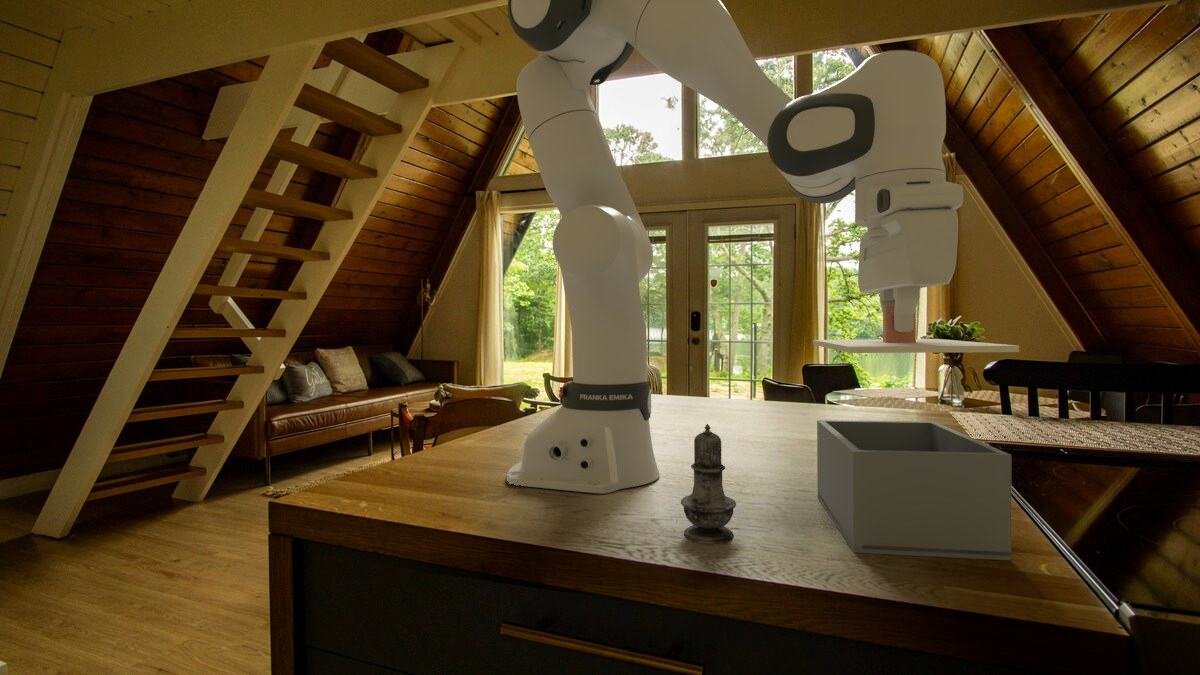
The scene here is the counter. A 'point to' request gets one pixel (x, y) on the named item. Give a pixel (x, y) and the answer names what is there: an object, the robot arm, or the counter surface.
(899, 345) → the lid
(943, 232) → the robot arm
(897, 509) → the box
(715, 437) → the salt shaker
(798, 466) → the counter surface
